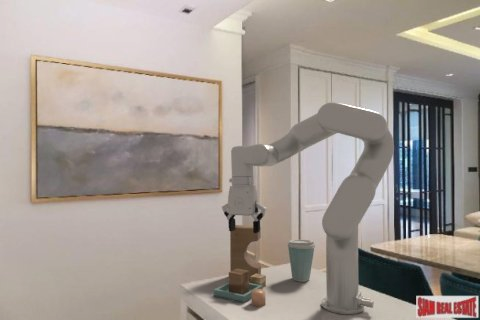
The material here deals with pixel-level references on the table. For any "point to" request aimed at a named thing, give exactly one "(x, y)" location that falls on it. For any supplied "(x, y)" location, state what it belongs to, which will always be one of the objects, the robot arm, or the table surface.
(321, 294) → the table surface
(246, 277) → the walnut block
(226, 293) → the tray
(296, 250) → the disposable coffee cup
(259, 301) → the peach round blob
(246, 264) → the decorative block
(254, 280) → the oak cube
